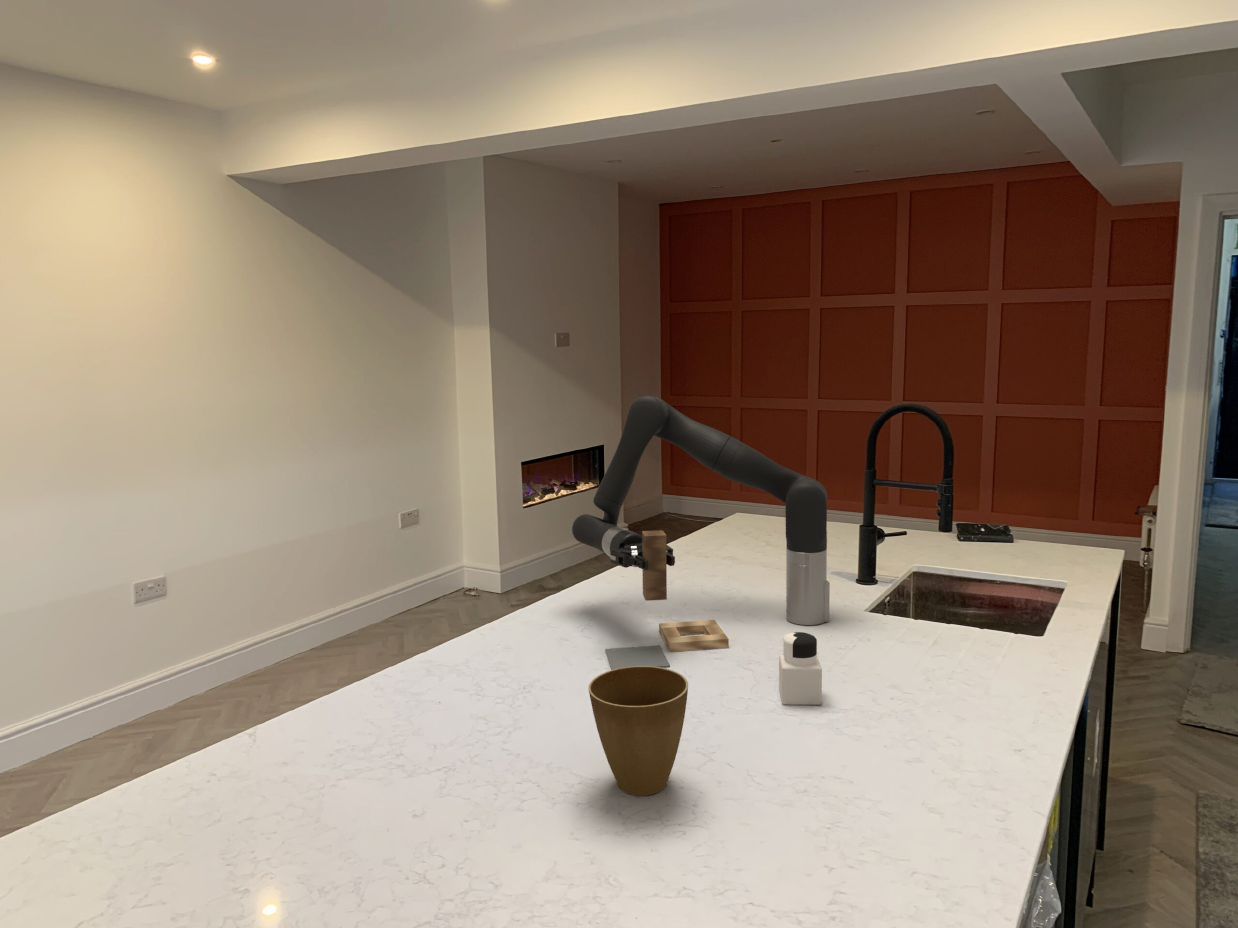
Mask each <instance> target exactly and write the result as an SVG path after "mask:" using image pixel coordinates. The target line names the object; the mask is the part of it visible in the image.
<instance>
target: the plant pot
mask: <svg viewBox="0 0 1238 928" xmlns="http://www.w3.org/2000/svg"><path fill="white" fill-rule="evenodd" d="M688 691H689V681H688V679H687V678H686V677H685V676H684V674H683V675H682V674H681V673H679V672H678V671H675V670H674V669H669V668H667V667H666V668H661V667H654V666H631V667H623V668H618V669H614V670H611V669H610V670H608V671H605V672H603V673H601V674H599V675H597V676H596V677H594V678H593V679H592V680H591V681H590V683H589V684H588V693H589V694H588V695H589V698H590V704H591V708H592V709H591V710H592V713H593V718H594V721H595V726H596V728H597V729H596V730H597V732H598V737H599V740H600V742H601V746H602V749H603V753H604V754H605V757H606V760H607V762H608V765H609V768H610V770H611V773H612V775H613V777H614V779H615V781H616V784H617V786H618V788H619V789H620V790H621V791H622V792H623V793H626V794H628V795H631V796H635V797H636V796H639V797H641V796H642V797H646V796H651V795H655V794H658V793H659V792H662V791H663V790H664V789H665V788H666V787H667V784H668V781H669V779H670V776H671V773H672V770H673V767H674V764H675V760H676V757H677V754H678V749H679V746H680V741H681V738H682V732H683V727H684V721H685V716H686V708H687V702H688V701H687V700H688V693H689V692H688Z"/></svg>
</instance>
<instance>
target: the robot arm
mask: <svg viewBox="0 0 1238 928" xmlns="http://www.w3.org/2000/svg"><path fill="white" fill-rule="evenodd" d="M627 413H628V414H627V415H626V419H625V425H624V427H623V431H622V434H621V437H620V439H619V443H618V446H617V448H616V450H615V452H614V455H613V456H612V460H611V461H610V462H609V465H608V468H607V470H606V472H605V474H604V476H603V478H602V480H601V482H600V484H599V486H598V488H597V490H596V492H595V494H594V497H593V501H592V502H593V504H594V506H595V507H596V508H598V509H600V511H602V512H603V518H600V517H597V516H595V515H591V514H588V513H586V514H585V513H584V514H581V515H579V516H578V517H576V519H574V521H573V523H572V527H571V531H572V536H573V537H574V539H575V540H576V541H577V542H579V543H581V544H584V545H586V546H590V547H591V548H595V549H597V550H598V551H599V552H601V553H603V554H605V555H607V556H608V557H609V558H610V563H611V564H614V565H617V566H619V567H622V568H630V567H632V568H639V569H641V570H642V571H643V570H648V560H647V559H645V558H643V557H642V534H638V533H636V532H635V531H631V530H629V529H628V528H624V527H620V526H618V522H619V516H620V512H621V508H622V506H623V505H624V503H625V501H626V498H627V496H628V494H629V491H630V490H631V488H632V484H633V482H634V480H635V476H636V473H637V470H638V466H639V463H640V460H641V458H642V456H643V454H644V452H645V450H646V449H647V447H648V445H649V444H650V442H651V440H652V439H653V437H656V438H660V439H661V440H664V441H666V442H669V443H671V444H672V445H675V446H677V447H678V448H680V449H681V450H683V451H684V452H685V453H687V454H688V455H689V456H690V457H692V458H693V459H695V461H697V462H698V463H700V464H701V465H702V466H704V467H706V468H707V469H709V470H711V471H712V472H714V473H716V474H718V475H720V476H722V477H723V478H725V479H728V480H729V481H732V482H733V483H734V482H735V483H738V484H741V485H744V486H747V487H750V488H753V489H758V490H760V491H762V492H765V493H767V494H769V495H771V496H773V497H774V498H776V499H777V500H780V501H781V502H782V503H784V504H785V506H784V507H785V514H784V515H785V540H786V547H785V548H786V556H785V557H786V558H785V559H786V561H785V562H786V563H785V564H786V568H785V569H786V570H785V571H786V572H785V574H786V575H785V576H786V577H785V580H786V584H785V585H786V588H785V589H786V591H785V593H786V594H785V595H786V598H785V599H786V600H785V603H786V604H785V606H786V609H785V610H786V611H785V612H786V613H785V614H786V615H785V616H786V620H787V621H788V622H790V623H792V624H796V625H800V626H815V625H820V624H823V623H828V622H830V600H831V599H830V595H831V594H830V592H831V591H830V588H831V587H830V582H829V581H828V580H827V578H828V577H827V575H828V574H827V573H828V570H827V567H828V565H827V564H828V562H827V561H828V560H827V558H828V557H827V555H828V551H827V550H828V532H827V530H828V529H827V528H828V527H827V526H828V525H827V521H828V520H827V519H828V517H827V516H828V498H829V497H828V493H827V489H826V488H825V486H824V485H823V484H822V483H821V482H820V481H818V480H816V479H814V478H811V477H809V476H806V475H805V474H801V473H799V472H796V471H794V470H791V469H789V468H787V467H785V466H782V464H779V463H777V462H775V461H774V460H772V459H771V458H769V457H767V456H766V455H764V454H763V453H761V452H759V450H756V449H754V448H753V447H751V446H749V445H747V444H746V443H744V442H742V441H740V440H739V439H737V438H735V437H733V436H731V435H729V434H726V433H724V432H722V431H720V430H718V429H716V428H714V427H711V426H710V425H709V426H708V425H706V424H703V423H701V422H698V421H695V420H694V419H692V418H690V417H688V416H686V415H685V414H683V413H681V412H680V411H678V409H676V408H674V407H673V406H671V404H668V403H667V402H666V401H665V400H663V399H661V397H657V396H655V395H643V396H639V397H638V398H636V399H635V400H633V402H632V403H631V405H630V406H629V409H628V412H627ZM675 564H676V557H675V555H674V548H672V547H671V546H669V545H668V544H666V566H667V565H668V566H669V567H674V566H675Z"/></svg>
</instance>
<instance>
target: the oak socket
mask: <svg viewBox="0 0 1238 928" xmlns="http://www.w3.org/2000/svg"><path fill="white" fill-rule="evenodd" d="M658 632H659V634H660V636H661V638H662V640H663V641H664V645H665V646H666V648H667V649H668V652H669V653H675V652H685V651H687V652H690V651H699V650H700V651H701V650H703V651H704V650H712V649H713V650H717V649H728V648H729V647H730V646H729V645H730V644H729V641H730V639H729V637H728V636H727V635H726V634H725V633H726V632H724V630H723V629H722V628H721V627H720V625H719V624H718V623H717V621H716V619H705V620H704V619H703V620H687V621H677V622H675V621H674V622H662V623H661V622H659V623H658ZM690 635H691V636H690Z"/></svg>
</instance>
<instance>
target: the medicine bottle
mask: <svg viewBox="0 0 1238 928" xmlns="http://www.w3.org/2000/svg"><path fill="white" fill-rule="evenodd" d="M782 646H783V647H782V648H783V649H782V650H783V653H780V654H779V655H778V689H779V691H778V692H779V695H780V699H781V703H782V705H789V706H790V705H792V706H793V705H794V706H795V705H796V706H797V705H798V706H799V705H801V706H821V705H822V703H823V702H822V701H823V700H822V699H823V698H822V697H823V695H822V694H823V693H822V691H823V689H822V688H823V685H822V684H823V668H822V665H821V662H820V660H819V658H818V657H819V656H818V654H817V653H818V652H817V651H818V648H817V647H818V639H817V638H816V637H815V636H814V635H813V634H811V633H808V632H803V631H795V632H790V633H788V634H785V635H784V636H783V645H782Z"/></svg>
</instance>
